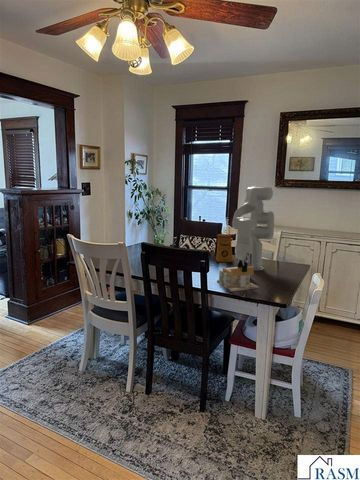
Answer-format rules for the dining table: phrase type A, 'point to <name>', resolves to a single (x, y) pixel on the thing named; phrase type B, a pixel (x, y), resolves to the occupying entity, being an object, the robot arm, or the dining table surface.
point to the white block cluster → (235, 281)
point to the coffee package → (224, 248)
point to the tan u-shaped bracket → (239, 271)
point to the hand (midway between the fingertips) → (242, 270)
